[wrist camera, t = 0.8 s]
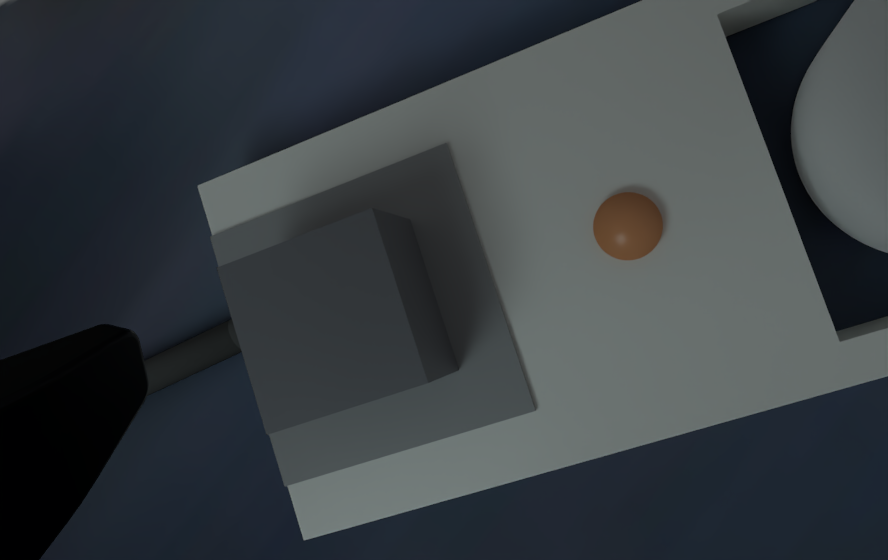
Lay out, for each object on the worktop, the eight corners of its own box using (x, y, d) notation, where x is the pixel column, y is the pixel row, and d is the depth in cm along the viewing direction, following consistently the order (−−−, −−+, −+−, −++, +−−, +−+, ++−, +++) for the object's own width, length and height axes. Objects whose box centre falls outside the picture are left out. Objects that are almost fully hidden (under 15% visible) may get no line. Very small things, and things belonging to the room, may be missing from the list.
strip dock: (1304, 239, 17) (1408, 231, 15) (335, 517, 23) (299, 543, 20) (1125, -168, 18) (1197, -236, 16) (237, 195, 24) (192, 184, 21)
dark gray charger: (460, 369, 20) (428, 382, 17) (320, 414, 21) (266, 435, 18) (411, 219, 20) (371, 208, 17) (276, 271, 21) (216, 267, 18)
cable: (255, 311, 24) (238, 312, 23) (267, 342, 23) (250, 344, 22) (-22, 443, 26) (-47, 448, 25) (-12, 471, 26) (-38, 478, 25)
